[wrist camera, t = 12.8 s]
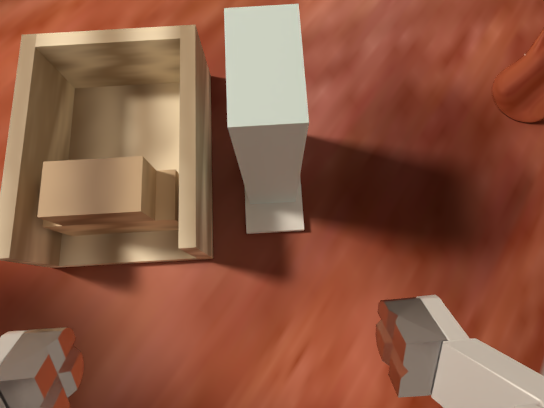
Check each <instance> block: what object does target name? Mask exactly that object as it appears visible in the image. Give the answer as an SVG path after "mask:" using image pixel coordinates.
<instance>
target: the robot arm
mask: <svg viewBox="0 0 544 408" xmlns="http://www.w3.org/2000/svg"><path fill="white" fill-rule="evenodd" d="M378 314H379V316H380V318H381V320H380V321H379V322H378V324H377V325H376V342H377V347H378V351H379V354H380V356H381V359H382V361H383V362H385V363H386V364H388V365H389V374H388V375H389V377H390V380H391V382H392V384H393V387H394V389H395V391H396V394H397V396H398V397H411V396H426V395H432V396H431V397H432V398H433V399H434V400H436V401H437V402H438V403H439V404H440V405H441V406H442V407H443V408H544V376H542V375H540V374H539V373H537V372H535V371H533V370H531V369H530V368H528V367H526V366H524V365H523V364H521V363H519V362H517V361H515V360H514V359H512V358H510V357H508V356H506V355H505V354H503V353H501V352H499V351H497V350H496V349H494V348H492V347H490V346H488V345H487V344H485V343H483V342H481V341H479V340H478V339H476V338H475V339H470V338H469V337H468V336H467V334H466V333H465V332H464V330H463V329H462V328H461V326H460V325H459V324H458V322H457V321H456V320H455V318H454V317H453V316H452V314H451V313H450V311H449V310H448V309H447V307H446V306H445V305H444V303H443V302H442V301H441V299H440V298H439V297H438V296H436V295H429V296H419V297H412V298H402V299H391V300H380V302H379V305H378ZM75 339H76V337H75V335H74V332H73V330H72V329H71V328H68V327H65V328H49V329H33V330H24V331H9V332H7V333H5V334H3V335H2V336H1V337H0V408H69V407H70V403H69V400H68V397H69V396H70V395H72V394H73V393H74V392H75V391H76V390H77V389H78V387H79V385H80V382H81V380H82V376H83V370H84V363H83V357H82V354H81V351H80V350H78V349H77V348H75V347H74V346H73V343H74V341H75Z"/></svg>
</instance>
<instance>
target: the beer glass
mask: <svg viewBox="0 0 544 408" xmlns="http://www.w3.org/2000/svg"><path fill="white" fill-rule="evenodd" d="M492 94H493V98H494V101H495V103H496V105H497V106H498V108H499V109H500V110H501V111H502V112H503V113H504V114H505V115H507V116H508V117H510V118H512V119H514V120H517V121H520V122H526V123H533V122H539V121H542V120H544V28H543V29H542V31H541V32H540V34H539V35H538V37H537V38H536V40H535V41H534V43H533V44H532V46H531V47H530V48H529V50H528V51H527V52H526V53H525V54H524V55H523V56H522V57H521V58H520V59H518V60H517V61H516V62H514V63H513V64H511V65H510V66H508V67H507V68H505V69H504V70H502V71H501V72H500V73H499V74H498V75H497V77H496V78H495V80H494V82H493V86H492Z"/></svg>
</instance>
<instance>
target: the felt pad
mask: <svg viewBox="0 0 544 408" xmlns="http://www.w3.org/2000/svg"><path fill="white" fill-rule="evenodd" d="M245 208H246V233H247V234H254V233H272V232H289V231H304V219H303V206H302V193H301V180H300V178H299V184H298V190H297V195H296V201H295V202H280V203H263V204H250V202H249V199H248V196H247V192H246V189H245Z"/></svg>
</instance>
